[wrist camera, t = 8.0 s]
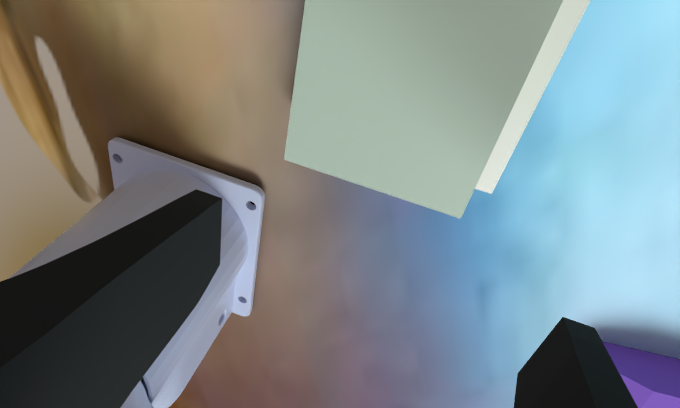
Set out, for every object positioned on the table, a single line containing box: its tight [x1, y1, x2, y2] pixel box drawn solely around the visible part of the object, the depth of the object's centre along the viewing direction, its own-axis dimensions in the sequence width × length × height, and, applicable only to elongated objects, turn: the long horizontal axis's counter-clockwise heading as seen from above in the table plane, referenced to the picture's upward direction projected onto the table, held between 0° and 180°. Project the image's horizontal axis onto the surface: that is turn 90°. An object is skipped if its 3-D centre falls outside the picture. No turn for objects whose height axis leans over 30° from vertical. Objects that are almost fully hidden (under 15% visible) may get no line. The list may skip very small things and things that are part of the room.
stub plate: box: [475, 0, 590, 194], centre depth 14 cm, size 10×8×4 cm
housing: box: [284, 0, 563, 219], centre depth 13 cm, size 6×5×5 cm
